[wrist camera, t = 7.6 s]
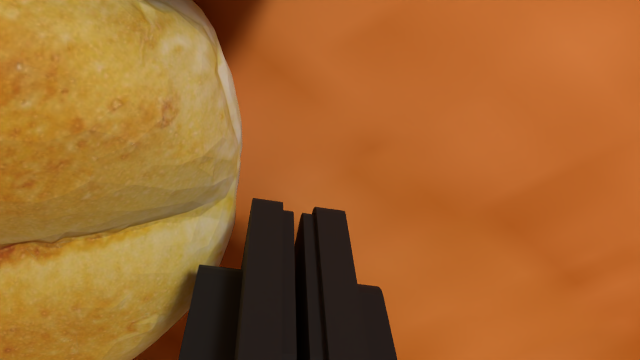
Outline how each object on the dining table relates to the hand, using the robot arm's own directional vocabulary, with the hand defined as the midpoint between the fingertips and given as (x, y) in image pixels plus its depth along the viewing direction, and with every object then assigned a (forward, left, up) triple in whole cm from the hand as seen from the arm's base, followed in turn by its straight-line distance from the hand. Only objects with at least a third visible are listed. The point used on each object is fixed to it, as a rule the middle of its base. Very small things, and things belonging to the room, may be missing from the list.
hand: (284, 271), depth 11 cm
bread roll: (+5, -1, -2) cm, 6 cm away
